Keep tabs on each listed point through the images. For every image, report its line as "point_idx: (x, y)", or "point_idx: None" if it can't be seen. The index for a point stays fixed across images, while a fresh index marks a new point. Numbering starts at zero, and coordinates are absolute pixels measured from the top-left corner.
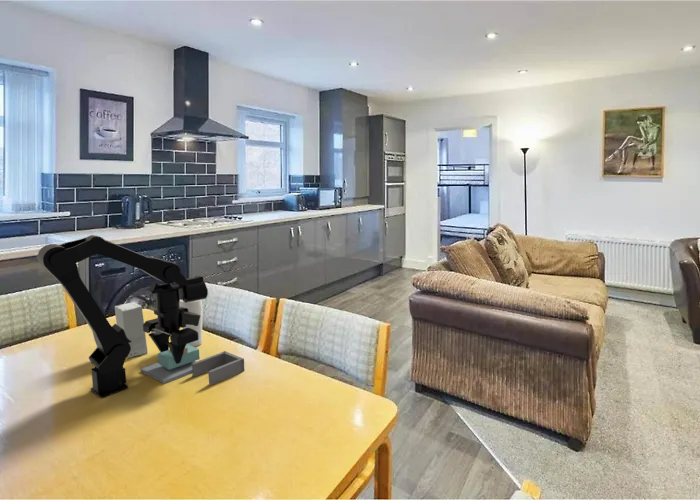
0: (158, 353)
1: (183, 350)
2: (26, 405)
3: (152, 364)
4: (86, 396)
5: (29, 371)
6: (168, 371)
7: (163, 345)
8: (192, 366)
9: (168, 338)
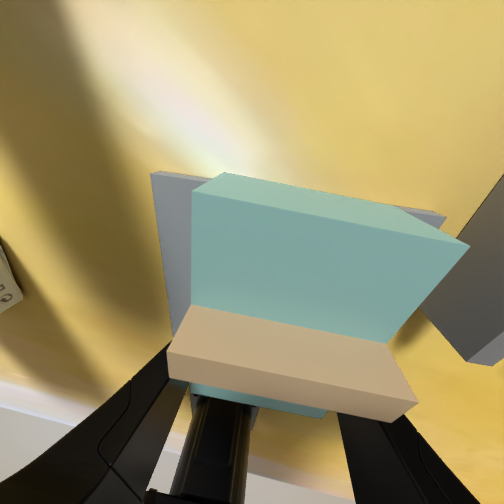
0: (194, 391)
1: (430, 452)
2: (169, 443)
3: (170, 316)
4: None
5: (8, 396)
6: None
7: (163, 422)
8: (457, 346)
9: (110, 477)
